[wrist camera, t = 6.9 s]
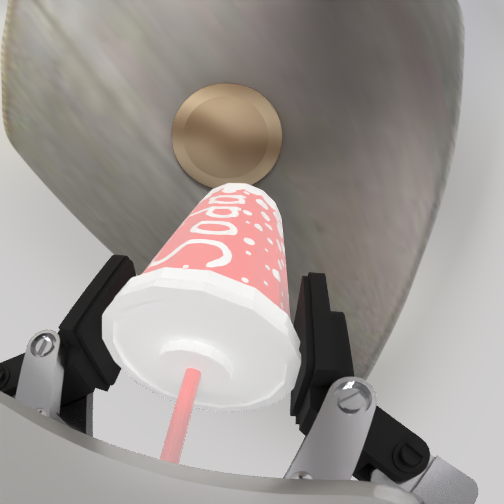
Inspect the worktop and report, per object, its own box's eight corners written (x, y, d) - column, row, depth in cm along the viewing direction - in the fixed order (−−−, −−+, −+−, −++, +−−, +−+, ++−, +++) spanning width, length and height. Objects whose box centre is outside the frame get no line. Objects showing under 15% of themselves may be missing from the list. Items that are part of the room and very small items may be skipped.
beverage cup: (310, 183, 14) (350, 549, 2) (280, 280, 17) (259, 542, 5) (188, 157, 14) (-33, 431, 2) (179, 257, 17) (75, 494, 5)
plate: (174, 84, 25) (171, 84, 24) (286, 86, 24) (286, 86, 23) (175, 184, 31) (172, 187, 30) (277, 191, 30) (276, 195, 29)
